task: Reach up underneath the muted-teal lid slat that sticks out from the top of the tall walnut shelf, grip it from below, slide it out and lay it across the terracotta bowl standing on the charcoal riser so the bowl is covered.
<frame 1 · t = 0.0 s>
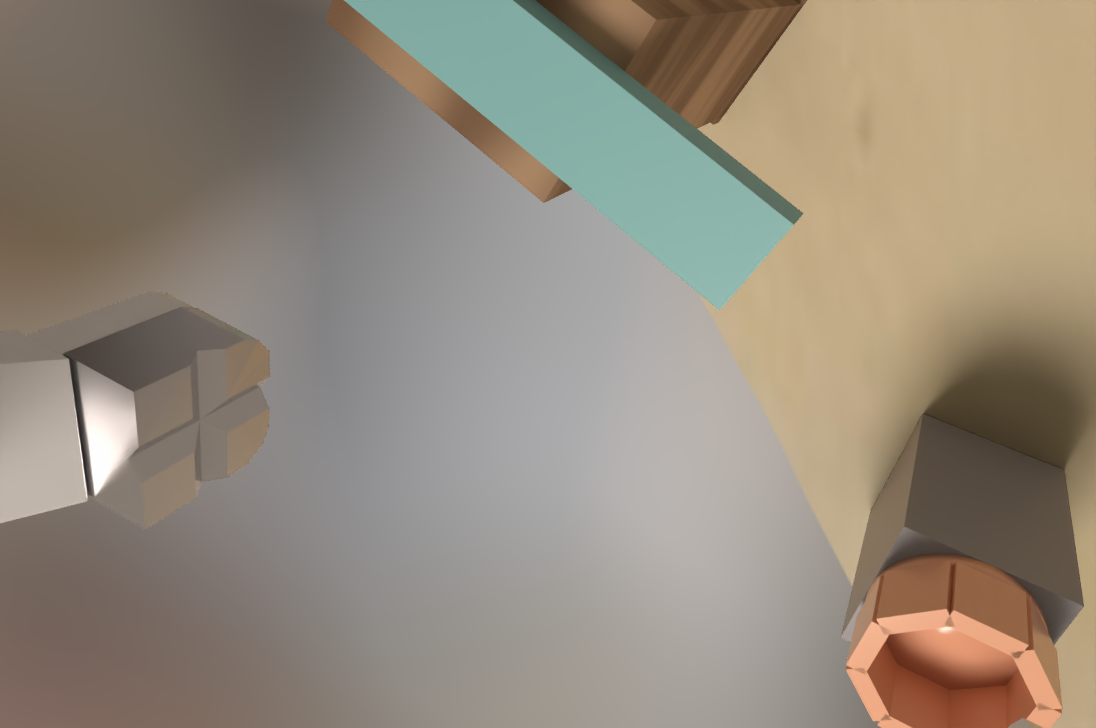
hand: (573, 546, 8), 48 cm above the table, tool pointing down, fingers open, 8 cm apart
walnut shelf: (688, 5, 51), on the table
lid slat: (554, 85, 30), point 26 cm above the table, touching walnut shelf
riser: (960, 492, 55), on the table
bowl: (952, 623, 44), resting on riser
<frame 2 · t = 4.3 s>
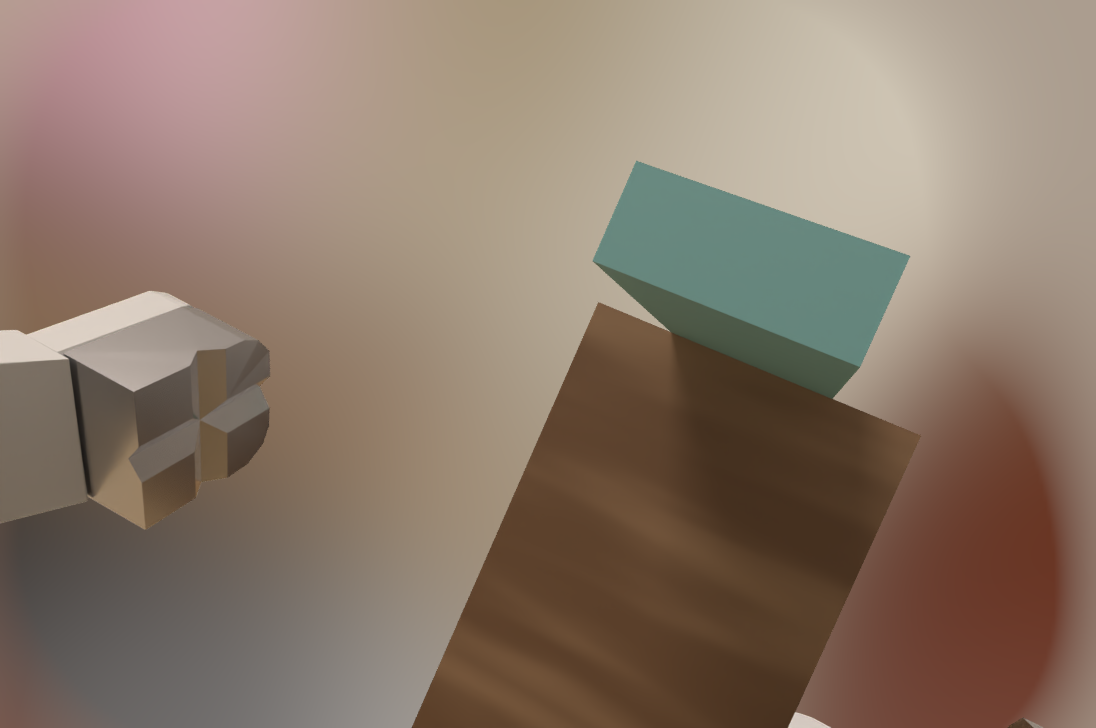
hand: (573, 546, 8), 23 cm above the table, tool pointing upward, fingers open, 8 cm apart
lid slat: (753, 371, 21), point 26 cm above the table, touching walnut shelf
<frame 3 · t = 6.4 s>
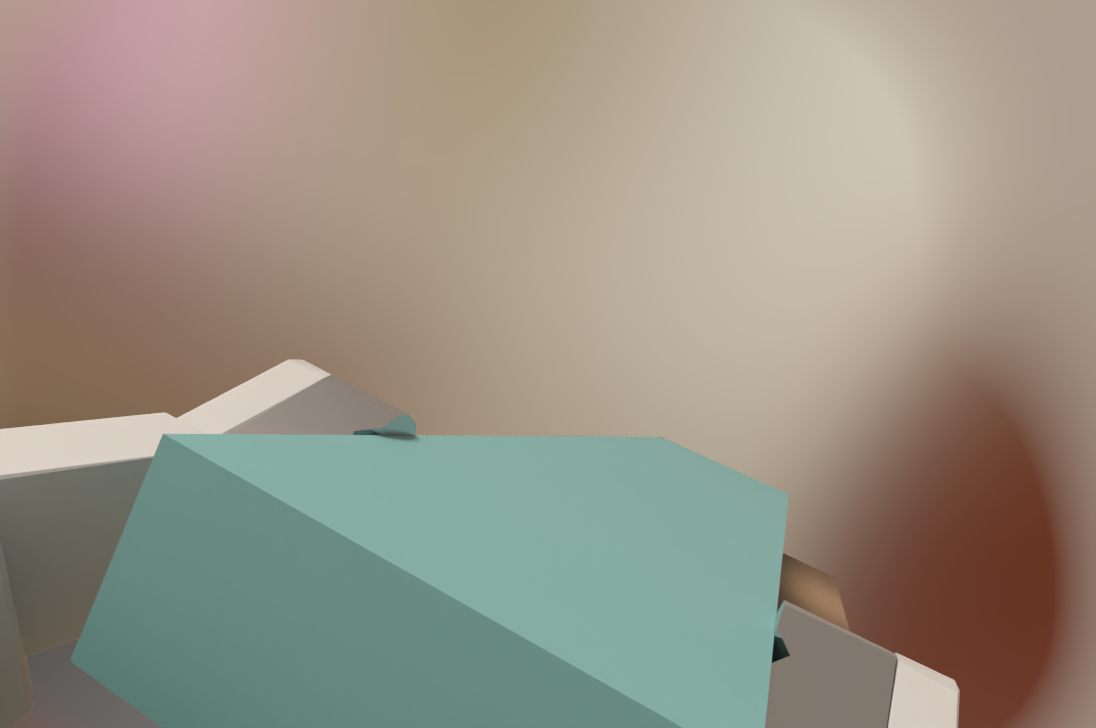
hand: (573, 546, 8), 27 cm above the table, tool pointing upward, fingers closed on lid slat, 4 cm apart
lid slat: (638, 566, 14), point 26 cm above the table, touching gripper, walnut shelf
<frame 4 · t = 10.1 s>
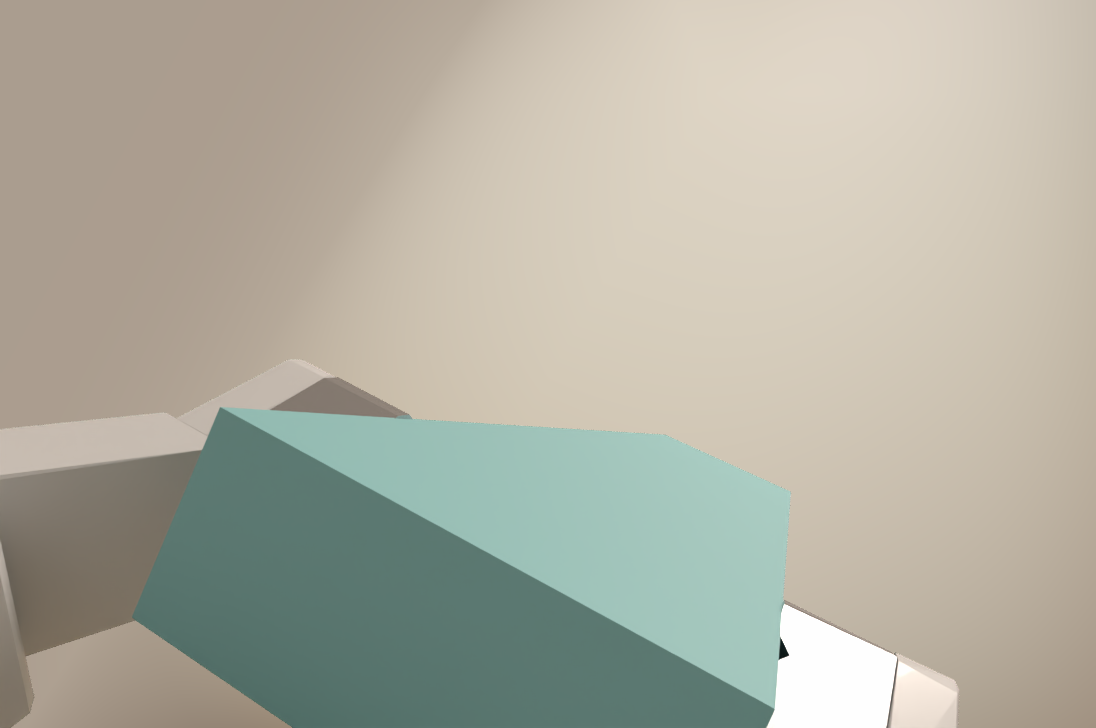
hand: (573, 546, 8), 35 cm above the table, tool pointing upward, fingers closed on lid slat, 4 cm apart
lid slat: (646, 556, 14), point 34 cm above the table, touching gripper
when the fingers open (22 cm above the table, at t = 14.1 s): lid slat drops 1 cm, resting on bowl.
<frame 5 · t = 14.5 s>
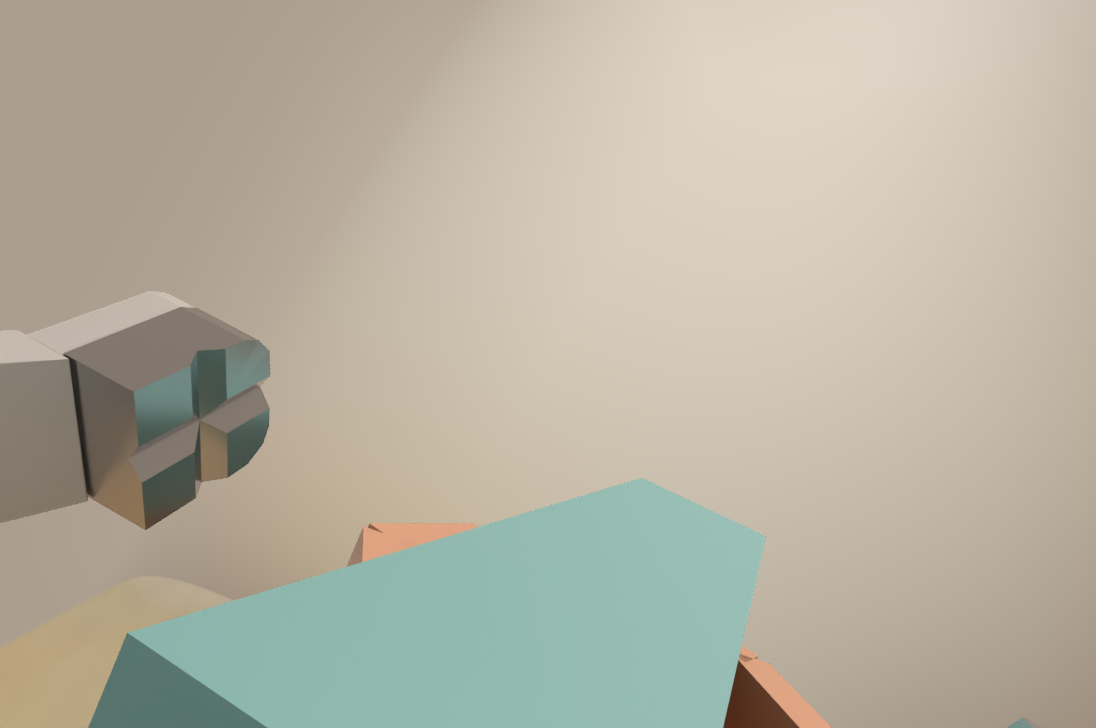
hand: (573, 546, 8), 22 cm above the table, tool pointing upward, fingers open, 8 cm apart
lid slat: (609, 635, 14), point 19 cm above the table, touching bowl
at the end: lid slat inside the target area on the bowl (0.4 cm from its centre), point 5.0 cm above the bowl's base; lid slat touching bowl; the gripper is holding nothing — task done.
